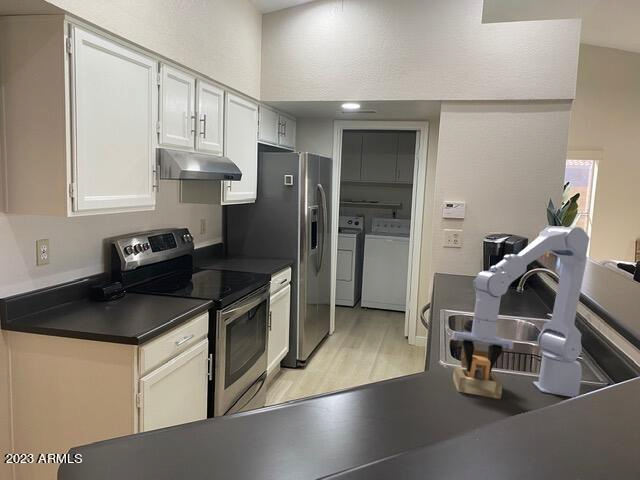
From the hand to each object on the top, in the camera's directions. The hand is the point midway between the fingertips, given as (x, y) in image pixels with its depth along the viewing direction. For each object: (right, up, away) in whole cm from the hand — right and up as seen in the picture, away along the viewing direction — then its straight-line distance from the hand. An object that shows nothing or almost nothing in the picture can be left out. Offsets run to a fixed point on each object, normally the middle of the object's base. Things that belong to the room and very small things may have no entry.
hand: (477, 372), depth 119 cm
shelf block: (-1, -4, 0) cm, 4 cm away
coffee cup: (+2, -4, +10) cm, 11 cm away
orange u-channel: (0, -1, 0) cm, 1 cm away
